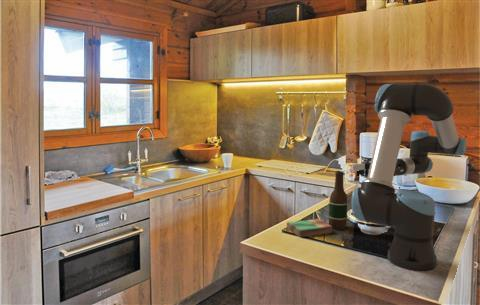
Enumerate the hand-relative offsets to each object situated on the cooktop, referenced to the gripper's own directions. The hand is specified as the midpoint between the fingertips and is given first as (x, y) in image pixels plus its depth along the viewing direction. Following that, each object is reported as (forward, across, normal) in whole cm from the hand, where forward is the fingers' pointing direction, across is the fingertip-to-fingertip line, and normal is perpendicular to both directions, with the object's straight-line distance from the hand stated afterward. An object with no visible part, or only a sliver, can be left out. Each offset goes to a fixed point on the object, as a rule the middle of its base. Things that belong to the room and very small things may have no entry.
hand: (362, 170), depth 168 cm
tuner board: (+26, 0, -23) cm, 35 cm away
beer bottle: (+12, -1, -24) cm, 27 cm away
